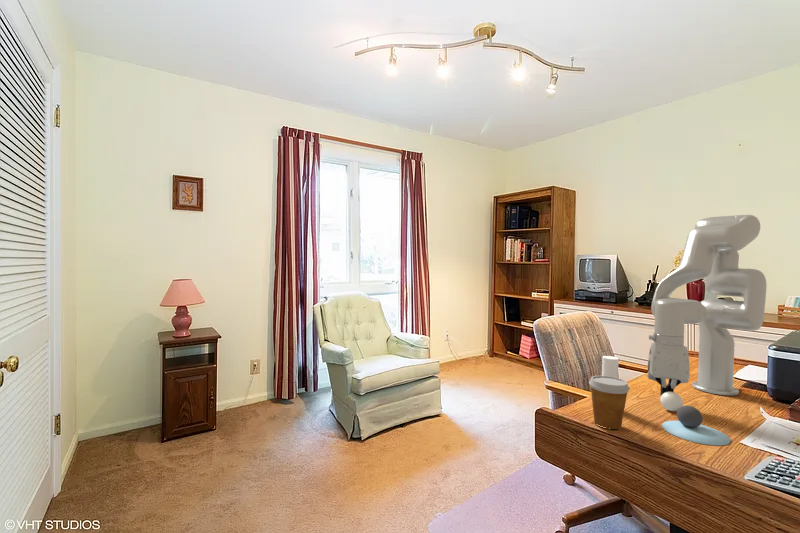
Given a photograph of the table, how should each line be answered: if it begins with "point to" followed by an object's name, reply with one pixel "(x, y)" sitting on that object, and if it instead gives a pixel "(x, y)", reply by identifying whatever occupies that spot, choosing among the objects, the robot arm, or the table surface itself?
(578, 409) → the table surface
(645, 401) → the table surface
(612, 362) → the tube
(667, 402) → the cue ball
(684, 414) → the object ball
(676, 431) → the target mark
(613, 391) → the disposable coffee cup
